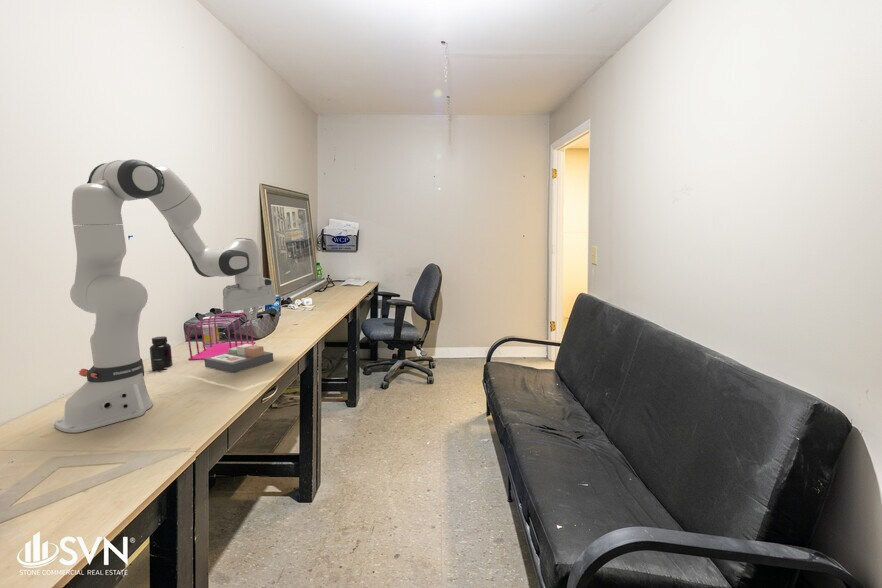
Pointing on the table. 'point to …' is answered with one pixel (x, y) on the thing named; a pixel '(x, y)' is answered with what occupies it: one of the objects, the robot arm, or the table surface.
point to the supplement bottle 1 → (160, 354)
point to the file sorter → (217, 347)
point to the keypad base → (236, 362)
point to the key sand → (243, 349)
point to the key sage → (233, 350)
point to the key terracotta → (254, 351)
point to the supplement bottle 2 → (206, 333)
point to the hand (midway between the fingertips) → (252, 319)
